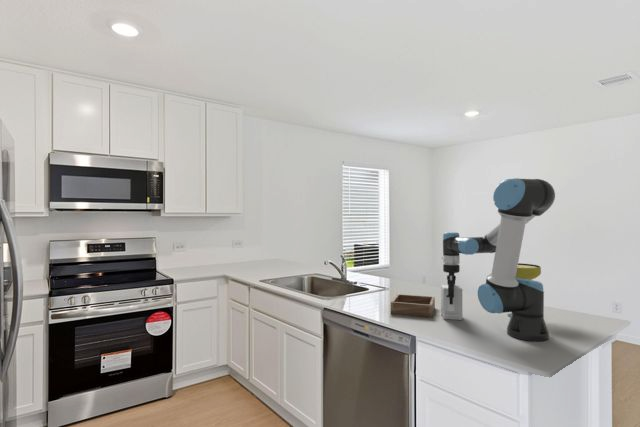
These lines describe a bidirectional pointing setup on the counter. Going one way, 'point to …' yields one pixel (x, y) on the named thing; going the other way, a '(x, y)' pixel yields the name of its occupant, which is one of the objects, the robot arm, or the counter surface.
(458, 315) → the supplement box
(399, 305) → the walnut box
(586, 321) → the counter surface
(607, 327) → the counter surface
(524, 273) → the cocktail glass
